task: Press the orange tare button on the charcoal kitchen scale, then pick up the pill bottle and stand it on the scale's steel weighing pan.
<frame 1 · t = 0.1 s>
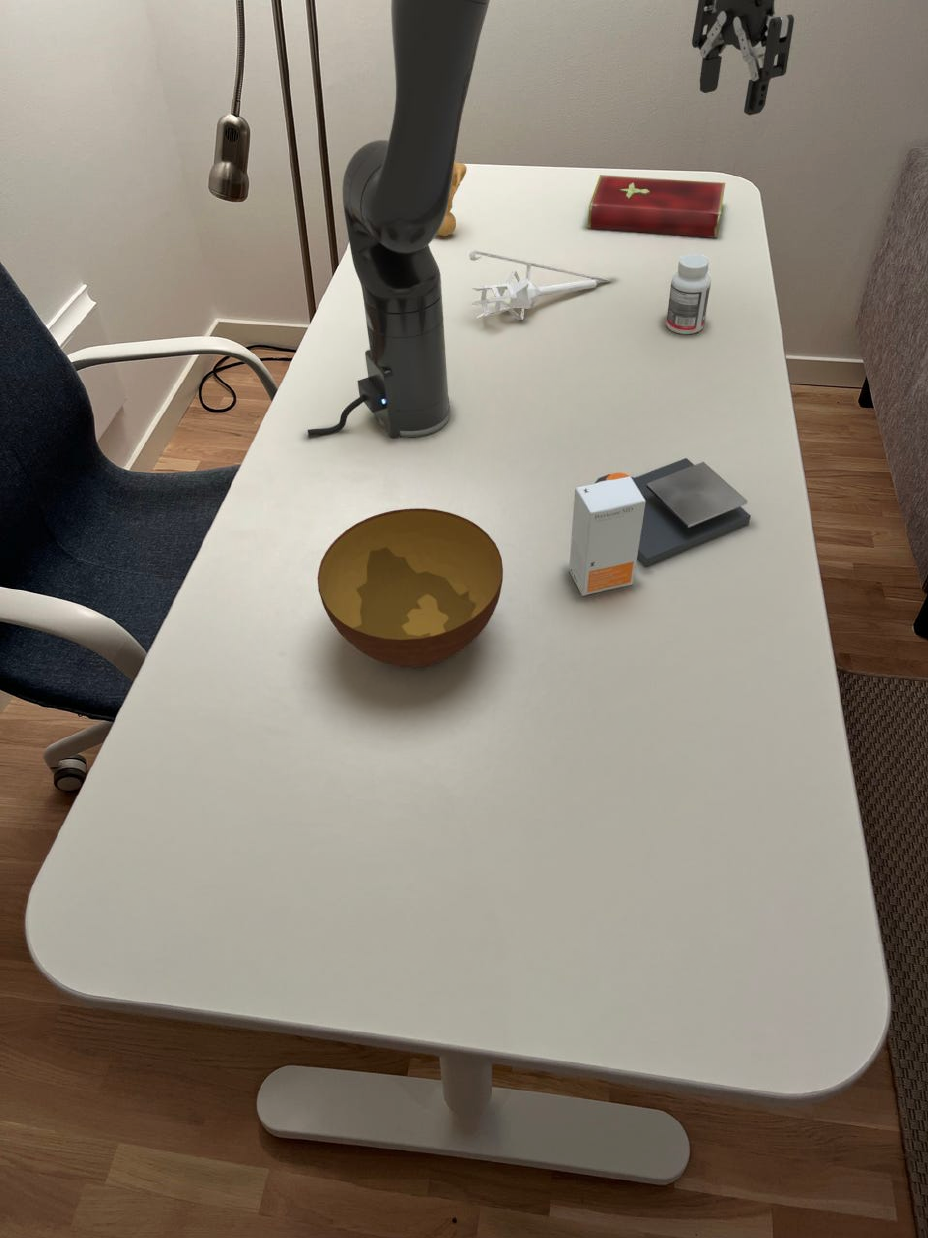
hand: (729, 101, 113), 29 cm above the table, tool pointing down, fingers open, 8 cm apart
weighing pan: (695, 494, 104), resting on scale
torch: (541, 308, 139), on the table
cosmetic box: (601, 579, 101), on the table
pill bottle: (684, 326, 134), on the table
hardcover book: (655, 218, 157), on the table
figurine: (451, 235, 156), on the table
tare button: (618, 486, 105), point 4 cm above the table, slide at 0.1 cm
scale: (666, 514, 107), on the table
bowl: (418, 639, 96), on the table
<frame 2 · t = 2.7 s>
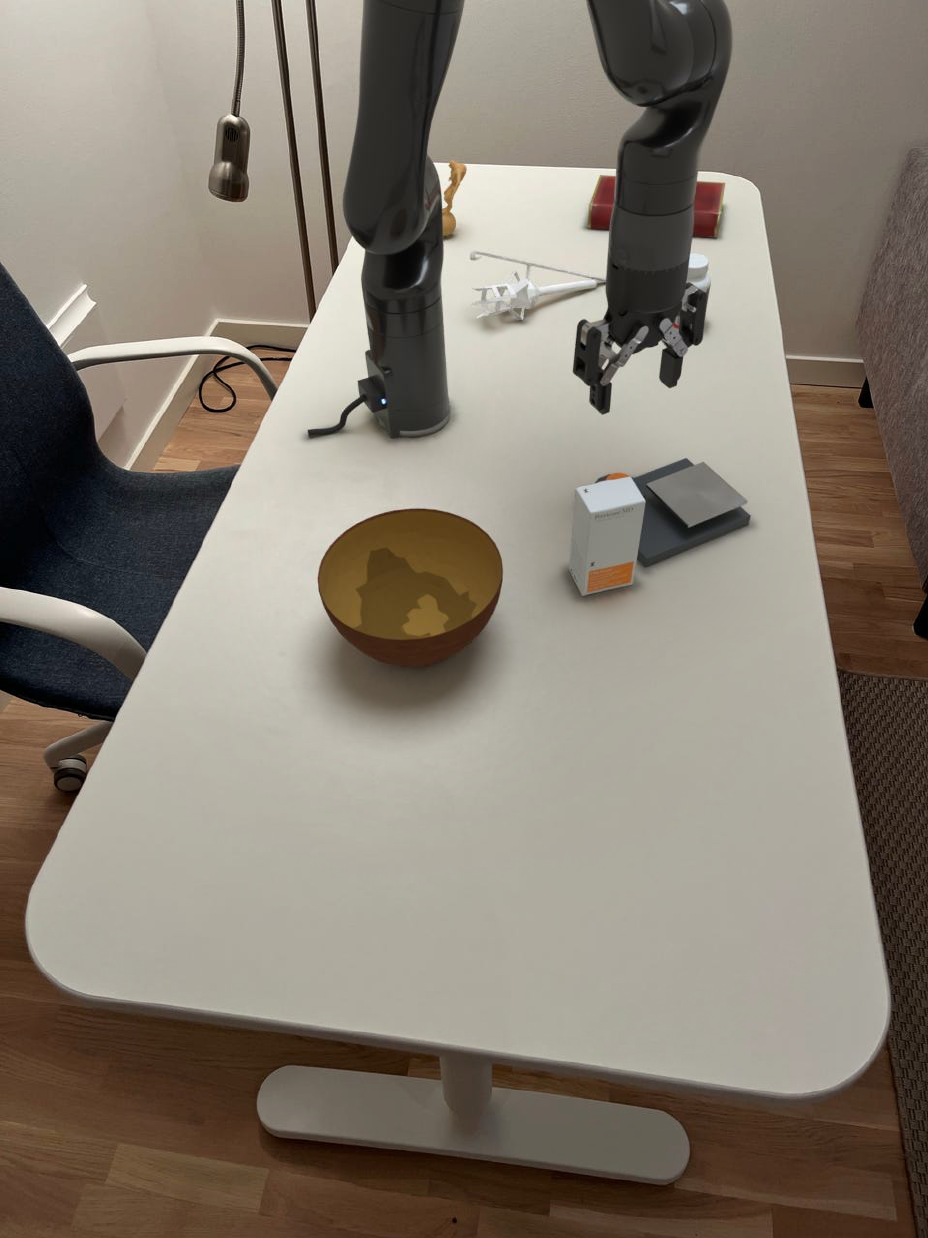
hand: (634, 396, 98), 15 cm above the table, tool pointing down, fingers open, 8 cm apart
nothing on the table moved.
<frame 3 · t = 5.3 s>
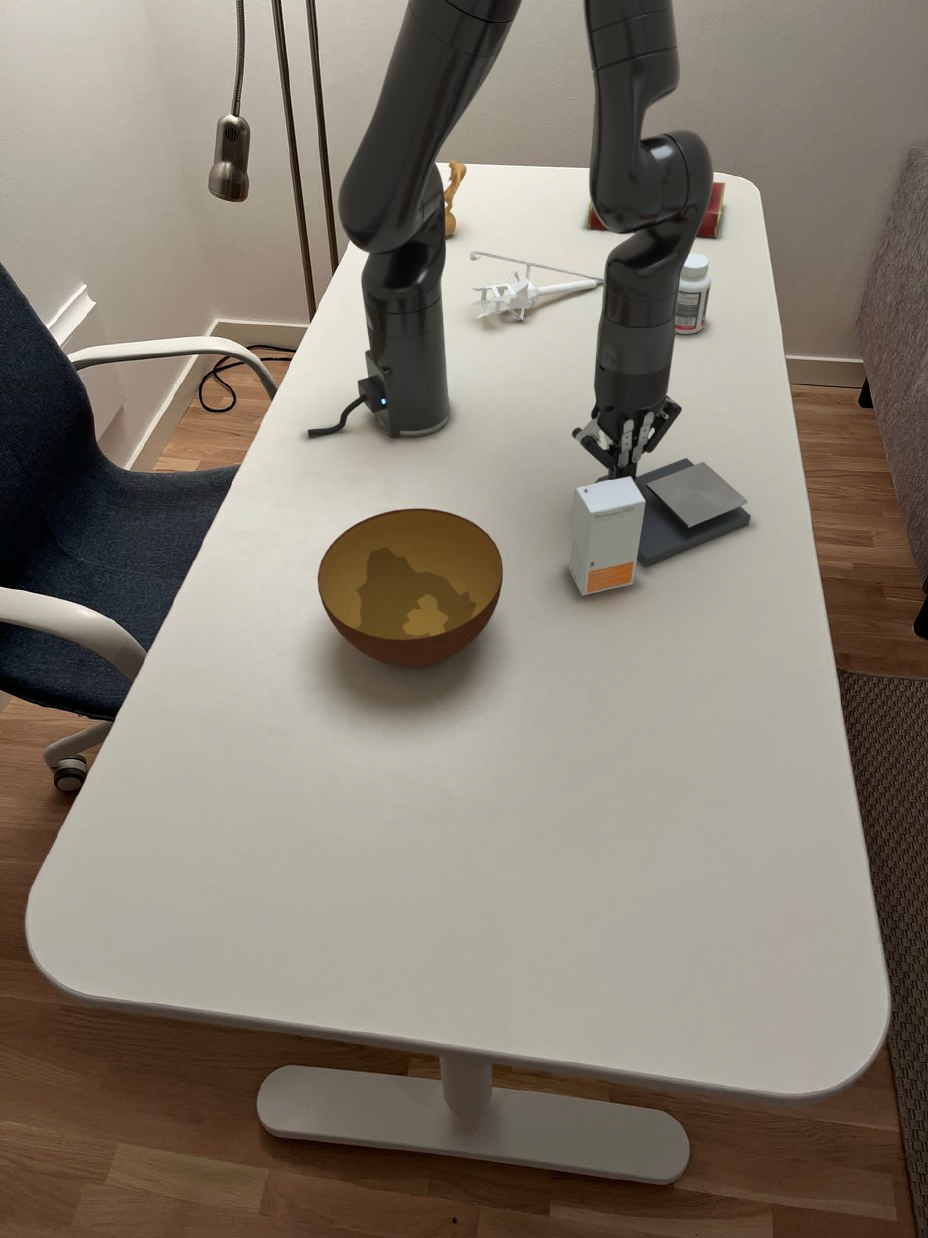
hand: (620, 485, 105), 4 cm above the table, tool pointing down, fingers closed
tare button: (618, 492, 106), point 3 cm above the table, slide at -0.7 cm, touching gripper
everything else where it was.
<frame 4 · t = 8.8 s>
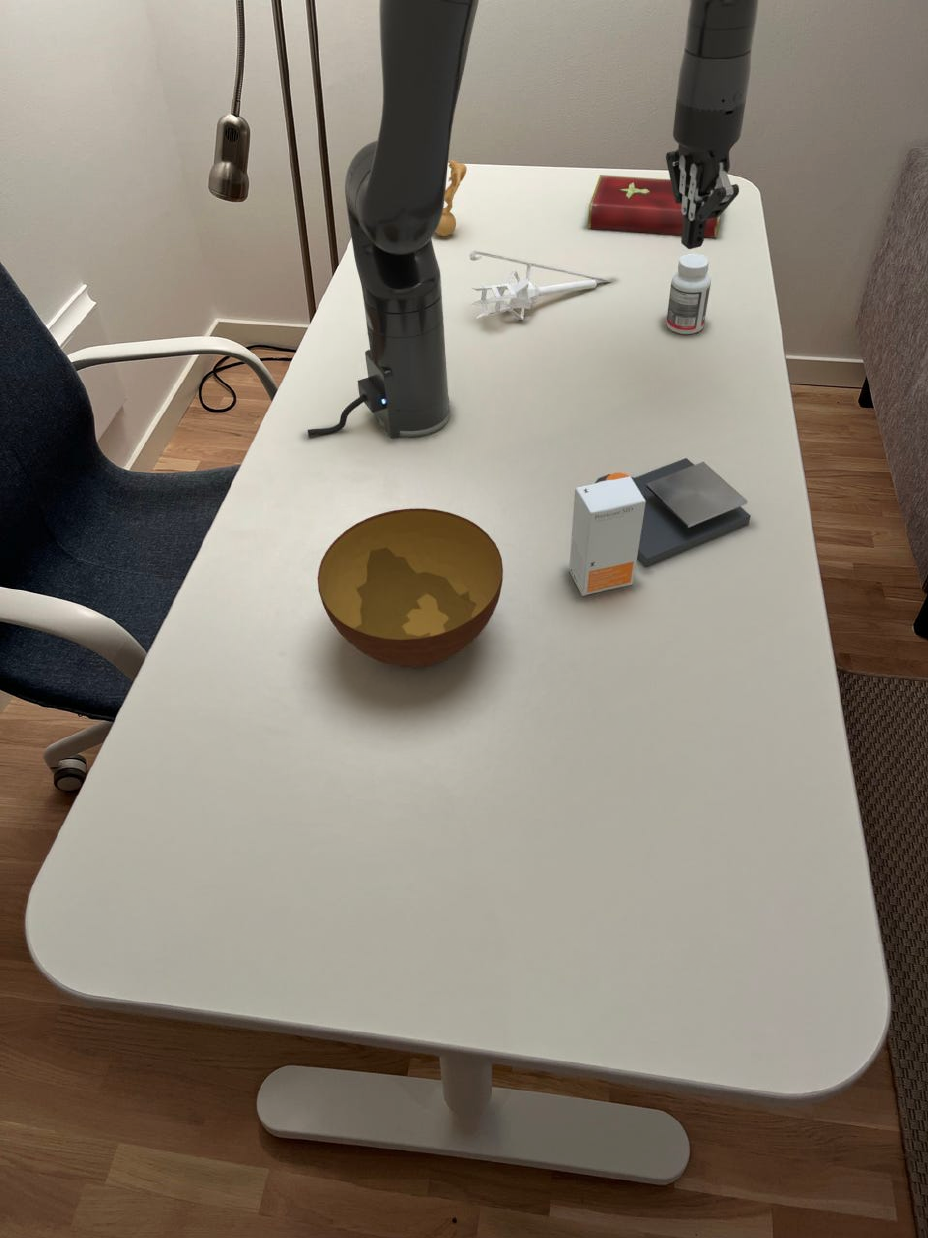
hand: (691, 245, 115), 17 cm above the table, tool pointing down, fingers closed
tare button: (618, 486, 105), point 4 cm above the table, slide at 0.1 cm
everything else where it was.
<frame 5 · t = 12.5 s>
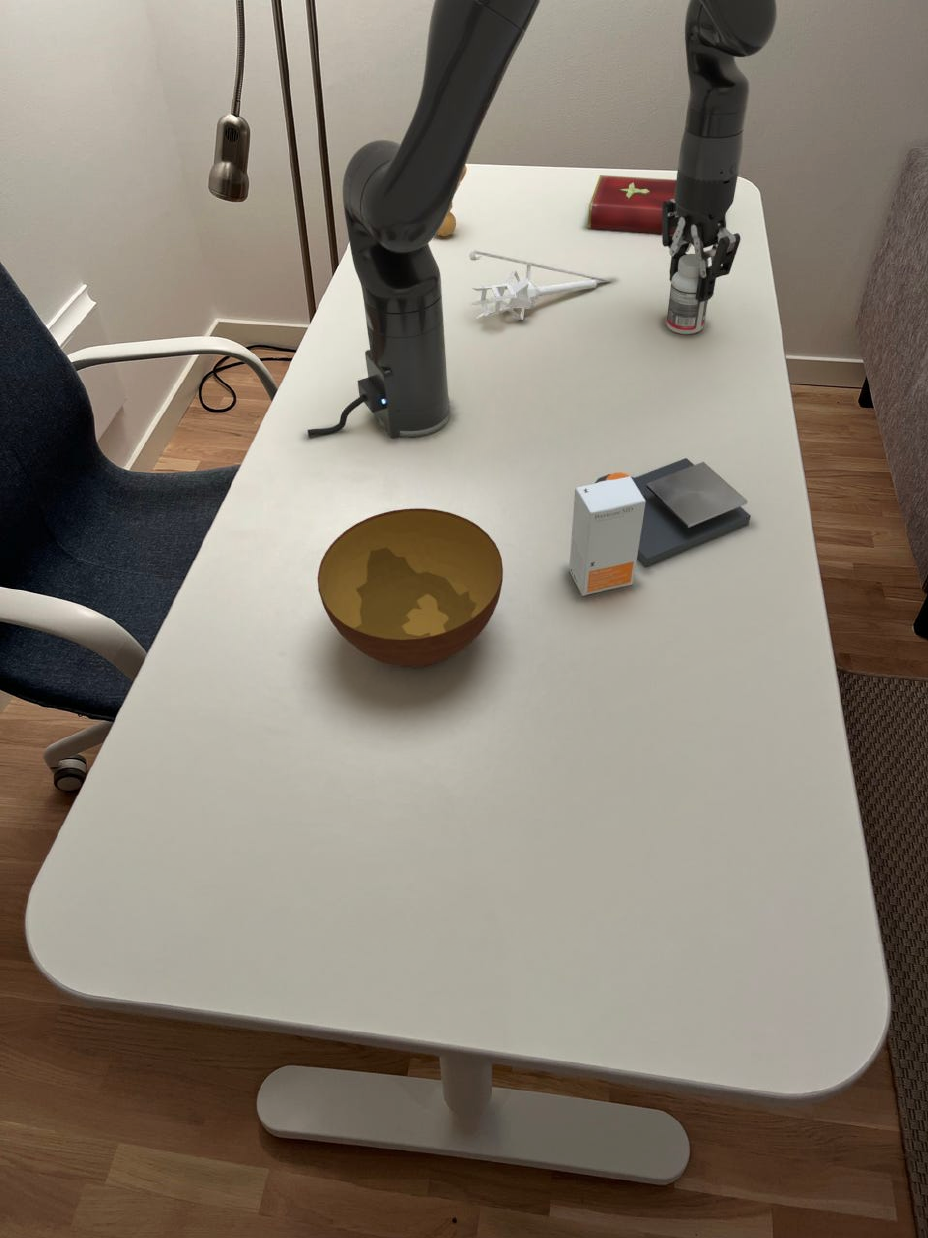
hand: (690, 289, 130), 5 cm above the table, tool pointing down, fingers closed on pill bottle, 5 cm apart
pill bottle: (684, 326, 134), on the table, touching gripper
everything else where it was.
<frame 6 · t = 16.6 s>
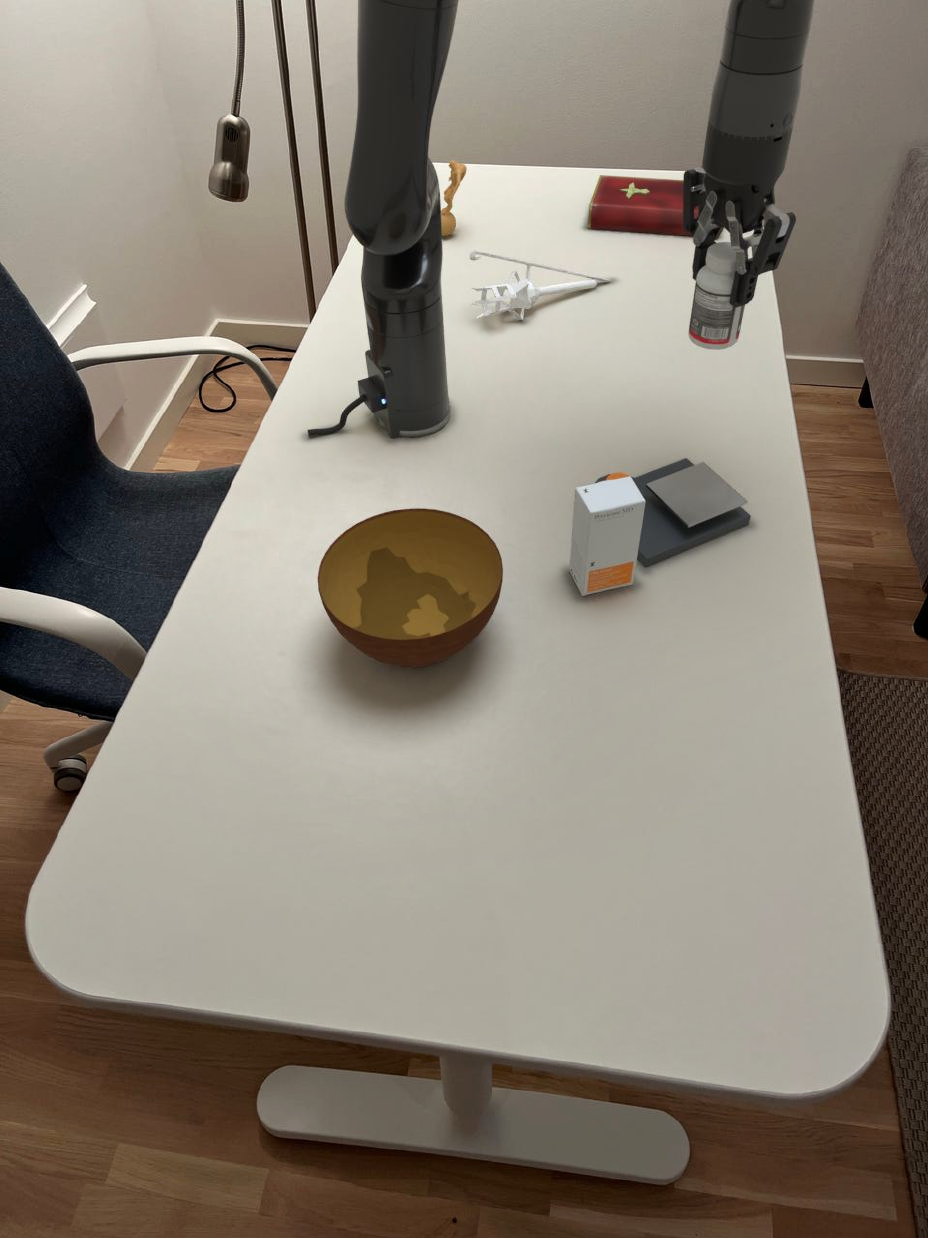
hand: (720, 290, 96), 22 cm above the table, tool pointing down, fingers closed on pill bottle, 5 cm apart
pill bottle: (712, 339, 101), point 17 cm above the table, touching gripper
everything else where it was.
when the fingers open (9 cm above the table, at t = 21.0 s): pill bottle stays where it is, resting on weighing pan.
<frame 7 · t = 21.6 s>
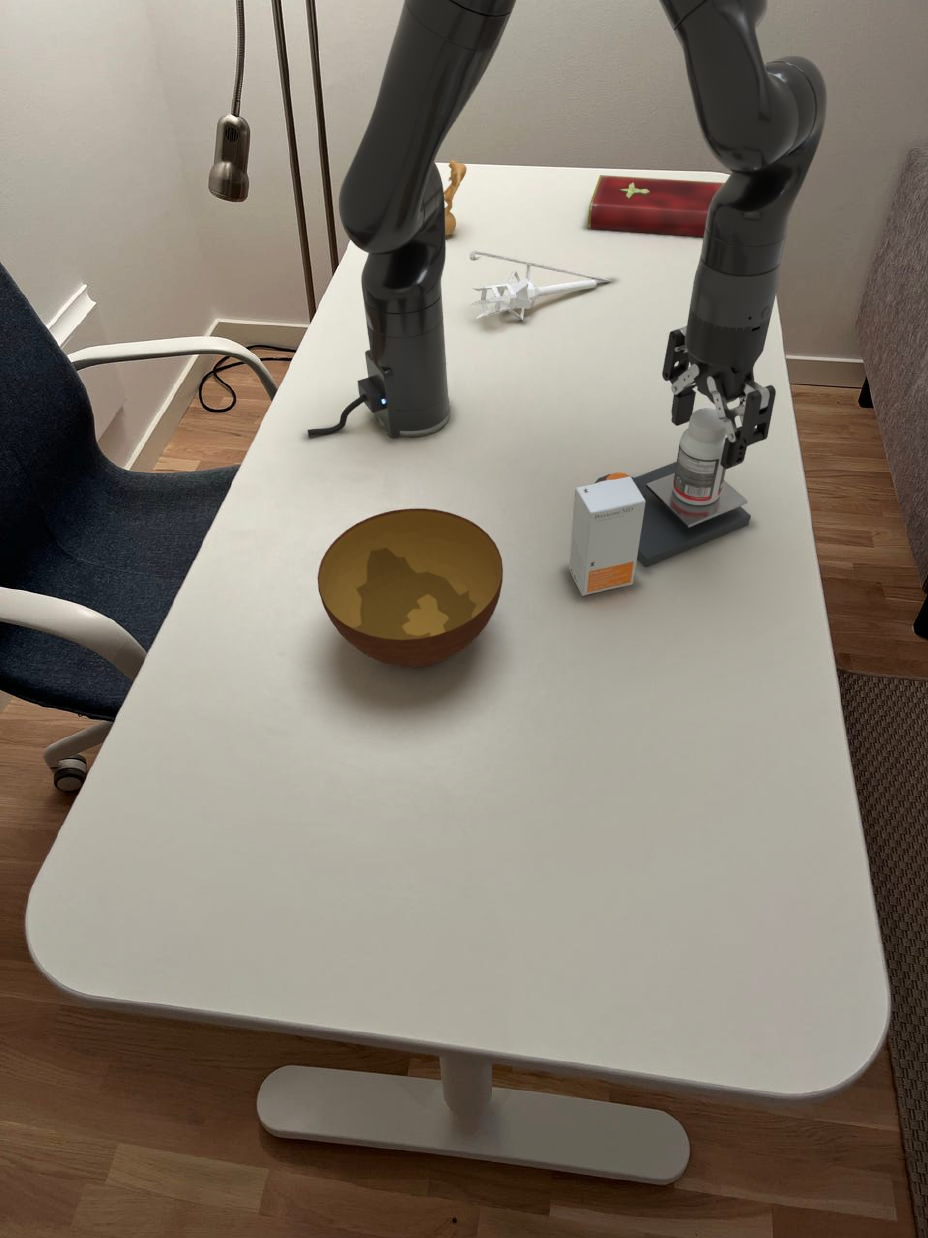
hand: (705, 443, 99), 10 cm above the table, tool pointing down, fingers open, 8 cm apart
pill bottle: (696, 492, 104), point 3 cm above the table, touching weighing pan
everything else where it was.
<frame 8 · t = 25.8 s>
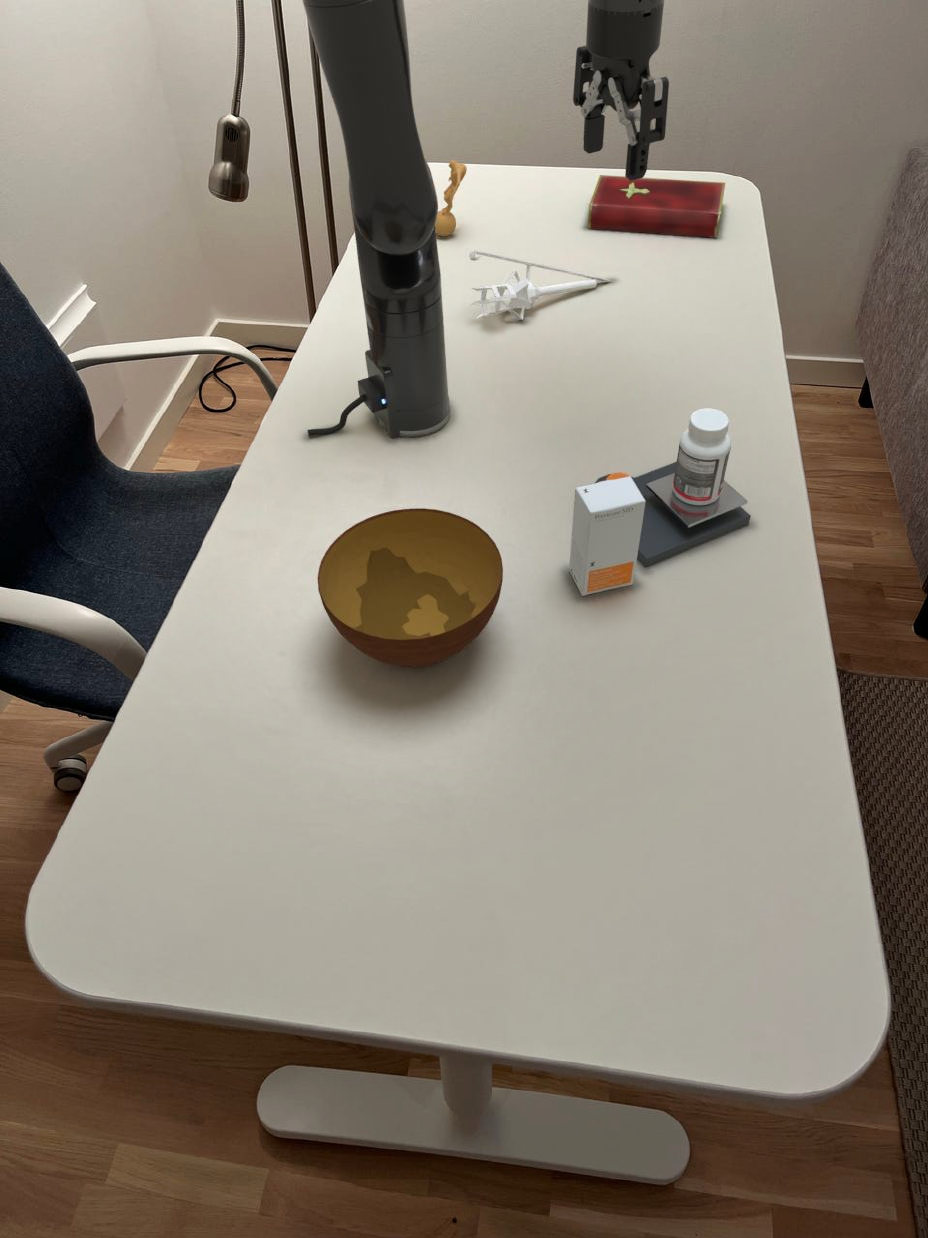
hand: (613, 164, 105), 28 cm above the table, tool pointing down, fingers open, 8 cm apart
nothing on the table moved.
at the end: tare button pushed in 0.9 cm at the most during the clip, back to where it started at the end; pill bottle 0.1 cm off-centre on the weighing pan, point 0.2 cm above the weighing pan's base; pill bottle tilted 0° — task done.
